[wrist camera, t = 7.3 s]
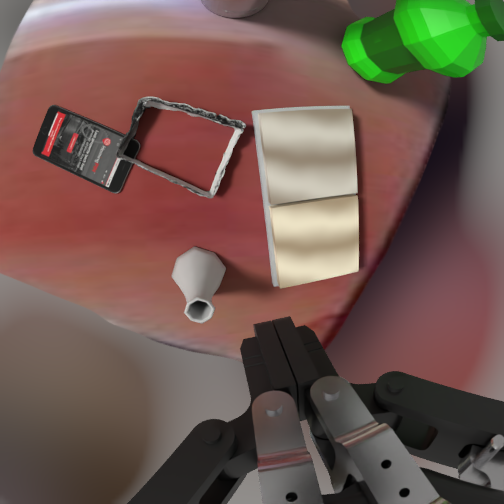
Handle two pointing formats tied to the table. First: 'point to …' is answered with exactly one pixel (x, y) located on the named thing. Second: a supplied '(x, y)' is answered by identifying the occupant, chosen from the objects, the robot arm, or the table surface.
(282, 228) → the cream wavy square sheet
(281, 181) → the laid plank
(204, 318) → the flask
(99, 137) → the smartphone
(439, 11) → the plastic bottle
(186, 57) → the table surface
